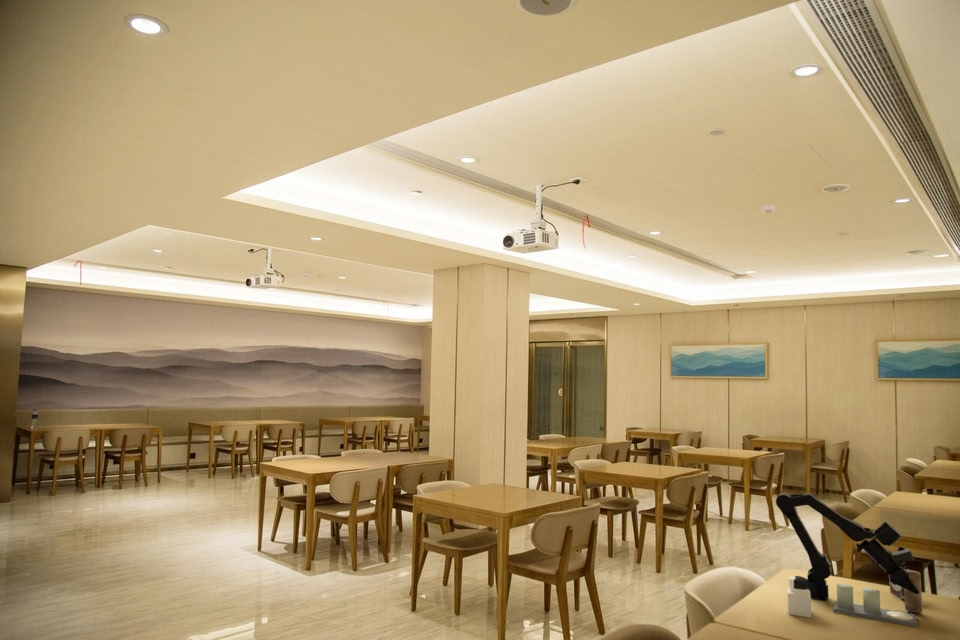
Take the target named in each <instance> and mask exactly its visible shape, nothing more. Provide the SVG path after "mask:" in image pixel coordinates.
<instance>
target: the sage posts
mask: <svg viewBox="0 0 960 640" xmlns="http://www.w3.org/2000/svg"><path fill="white" fill-rule="evenodd" d="M836 601H837V606H839V607H841V608H845V609H853V608H854V604H855V603H854V587H853V586H852V585H849V584H847V583H846V584H845V583H838V584H837V583H836ZM862 601H863V602H862V603H863V604H862V605H863V606H864V611H866V612H869V613H874V614H879V613H881V610H880V608H881V591H880V590H879V589H876V588H872V587H863V588H862Z"/></svg>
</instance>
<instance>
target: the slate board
mask: <svg viewBox="0 0 960 640" xmlns="http://www.w3.org/2000/svg"><path fill="white" fill-rule="evenodd" d="M832 608H833V613H835V612H840V613H839V614H841V613H844V614H843V615H847V614H848V615H849V616H852V615H853V617H857V618H864V617H865V619H869V618H870V620H876V621H880V622H881V621H882V622H886V623H887V622H888V623H892V624H898V625H903V626H909V627H914V626H915V627H916V628H917V627H918V623H917V619H916V614H915V613H911V612H903V611H898V610H893V609H888V608H887V609H885V608H881V607H880V610H881V613H879V614H874V613H869V612H866V611H864V606H863V604H862V605H861V604H856V603H854V608H853V609H845V608H841V607H839V606H837V600H834V603H833V607H832ZM915 627H914V628H915Z"/></svg>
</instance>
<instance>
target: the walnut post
mask: <svg viewBox="0 0 960 640" xmlns="http://www.w3.org/2000/svg"><path fill="white" fill-rule="evenodd" d="M906 571H907V572H908V573H909V579H910V581H911V582H912V583H913V584H914V586H915V587H916V588H917V590H918V591H919V594H915V593H913V592H911V591H909V590H907V589H905V588H904V594H905V601H904V608H905V609H904V610H906V611H907V612H909V613H914V614H915V613H916V614H920V613H921V614H922V613H923V599H922V598H923V597H922V574H921V572H919V571H918V570H912V569H909V570H906Z"/></svg>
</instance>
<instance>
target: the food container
mask: <svg viewBox="0 0 960 640" xmlns="http://www.w3.org/2000/svg"><path fill="white" fill-rule="evenodd" d="M907 570H910V569H908V568H907ZM889 593H890V594H891V593H892V594H891V595H893V596H894V595H895V597H896V598H897V599H898V598H899V599H898V600H900V601H901V600H905V594H904V588H903V587H901V586H898V585H893V584H892V583H891V582H890V581H889Z"/></svg>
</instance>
